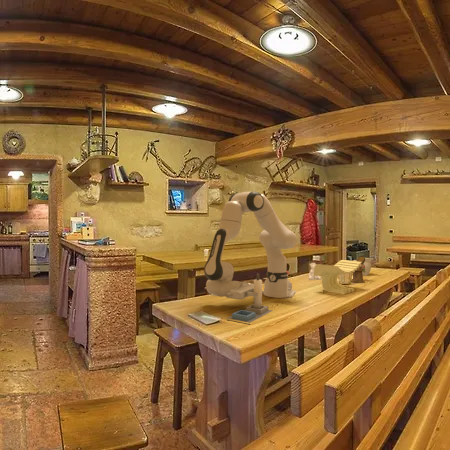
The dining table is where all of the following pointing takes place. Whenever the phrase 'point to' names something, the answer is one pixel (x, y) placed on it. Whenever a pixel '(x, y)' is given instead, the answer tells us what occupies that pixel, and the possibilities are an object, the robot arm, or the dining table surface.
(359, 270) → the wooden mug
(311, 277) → the white creature statuette
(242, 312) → the lever base plate
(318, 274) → the slatted curved stool
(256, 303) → the knob-topped cream cylinder
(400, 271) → the dining table surface
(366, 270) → the pitcher
